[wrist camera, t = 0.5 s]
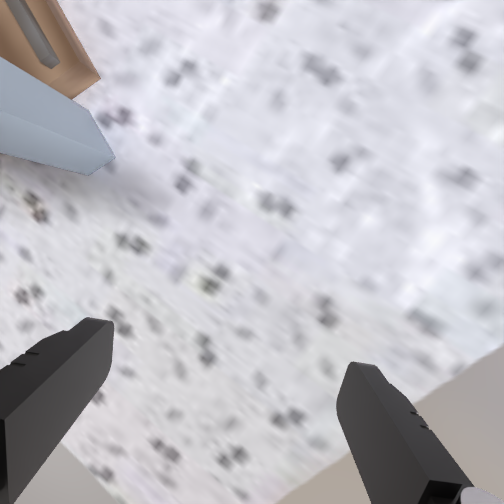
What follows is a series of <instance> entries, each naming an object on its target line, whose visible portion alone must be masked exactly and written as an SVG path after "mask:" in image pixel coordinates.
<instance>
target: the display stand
mask: <svg viewBox="0 0 504 504" xmlns="http://www.w3.org/2000/svg"><path fill="white" fill-rule="evenodd" d="M0 57H2V58H3V59H5V60H7V61H8V62H10V63H12V64H13V65H15V66H16V67H18V68H20V69H21V70H23V71H25V72H26V73H28V74H30V75H31V76H33V77H35V78H36V79H38V80H40V81H41V82H43V83H44V84H46V85H48V86H49V87H51V88H53V89H54V90H56V91H58V92H59V93H61V94H63V95H64V96H66V97H68V98H69V99H71V100H72V99H73V98H74V97H76V96H77V95H79V94H80V93H81V92H83V91H84V90H86V89H87V88H88V87H90V86H91V85H93V84H94V83H95V82H97V81H98V80H100V79H101V78H100V76H99V75H98V73H97V71H96V69H95V68H94V66H93V64H92V62H91V60H90V59H89V57H88V55H87V53H86V52H85V50H84V48H83V46H82V44H81V43H80V41H79V39H78V37H77V36H76V34H75V32H74V30H73V29H72V27H71V25H70V23H69V21H68V20H67V18H66V16H65V14H64V13H63V11H62V9H61V7H60V6H59V4H58V2H57V0H0Z"/></svg>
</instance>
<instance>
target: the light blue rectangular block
mask: <svg viewBox="0 0 504 504" xmlns="http://www.w3.org/2000/svg"><path fill="white" fill-rule="evenodd" d="M0 153H2V154H6V155H10V156H14V157H18V158H22V159H26V160H30V161H34V162H38V163H41V164H45V165H49V166H53V167H57V168H61V169H65V170H69V171H73V172H76V173H80V174H84V175H88V176H89V175H90V174H92V173H93V172H95V171H96V170H98V169H99V168H101V167H102V166H104V165H105V164H107V163H108V162H110V161H111V160H113V159H115V158H116V157H115V155H114V154H113V152H112V150H111V148H110V147H109V145H108V143H107V141H106V140H105V138H104V136H103V134H102V133H101V131H100V129H99V127H98V126H97V124H96V122H95V120H94V119H93V117H92V115H91V113H90V112H89V110H87V109H86V108H84V107H82V106H81V105H79V104H77V103H76V102H74V101H73V100H71V99H69V98H68V97H66V96H64V95H63V94H61V93H59V92H58V91H56V90H54V89H53V88H51V87H49V86H48V85H46V84H44V83H43V82H41V81H40V80H38V79H36V78H35V77H33V76H31V75H30V74H28V73H26V72H25V71H23V70H21V69H20V68H18V67H16V66H15V65H13V64H12V63H10V62H8V61H7V60H5V59H3V58H2V57H0Z"/></svg>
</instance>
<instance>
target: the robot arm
mask: <svg viewBox="0 0 504 504" xmlns="http://www.w3.org/2000/svg"><path fill="white" fill-rule="evenodd" d="M113 337H114V323H113V322H112V321H108V320H102V319H95V318H89V317H87V318H84V319H83V320H82V321H80V322H79V323H78V324H77V325H75V326H74V327H73V328H72V329H70V330H69V331H64V330H63V331H60V332H58V333H56V334H53V335H51V336H49V337H46V338H44V339H42V340H41V341H39V342H38V343H37V344H35V345H34V346H33V347H31V348H30V349H28V350H27V351H26V353H25V354H22V355H20V356H19V357H17V358H16V359H15V360H13V361H12V362H11V364H10V365H6V366H5V367H4V368H2V369H1V370H0V504H14V502H15V501H16V500H17V498H18V497H19V495H20V494H21V493H22V492H23V490H24V489H25V487H26V486H27V485H28V483H29V482H30V481H31V479H32V478H33V477H34V475H35V474H36V473H37V471H38V470H39V469H40V467H41V466H42V465H43V463H44V462H45V461H46V459H47V457H49V455H50V454H51V453H52V451H53V450H54V449H55V447H56V446H57V444H58V443H59V442H60V441H61V439H62V438H63V437H64V435H65V434H66V433H67V431H68V430H69V429H70V427H71V426H72V425H73V423H74V422H75V420H76V419H77V418H78V416H79V415H80V414H81V412H82V411H83V410H84V408H85V407H86V406H87V404H88V403H89V402H90V400H91V399H92V398H93V396H94V395H95V394H96V392H97V391H98V390H99V388H100V387H101V386H102V384H103V383H104V381H105V380H106V378H107V376H108V373H109V371H110V367H111V363H112V351H113ZM336 409H337V416H338V419H339V422H340V425H341V427H342V430H343V432H344V435H345V437H346V440H347V442H348V445H349V447H350V450H351V453H352V455H353V458H354V460H355V463H356V465H357V468H358V470H359V473H360V475H361V478H362V481H363V483H364V486H365V488H366V491H367V493H368V496H369V498H370V501H371V504H504V501H503V500H501V499H500V498H498V497H496V496H495V495H493V494H491V493H489V492H487V491H485V490H483V489H479V488H476V487H474V485H473V484H472V483H471V481H470V480H469V479H468V478H467V476H466V475H465V474H464V472H463V471H462V470H461V468H460V467H459V466H458V464H457V463H456V462H455V460H454V459H453V458H452V456H451V455H450V454H449V453H448V451H447V450H446V449H445V447H444V446H443V445H442V443H441V442H440V441H439V439H438V438H437V437H436V435H435V434H434V433H433V432H432V430H429V428H428V425H427V424H426V422H425V421H424V420H423V418H422V417H421V416H419V415H418V412H417V411H416V409H415V408H414V406H413V405H412V404H411V403H410V401H409V400H408V399H407V397H406V396H404V395H403V394H402V393H401V392H400V391H399V390H398V389H396V388H395V387H394V386H393V385H392V384H389V382H388V381H387V380H386V378H385V377H384V375H383V374H382V373H381V371H380V370H379V369H378V367H377V366H375V365H371V364H365V363H359V362H351V363H350V364H349V365H348V368H347V371H346V373H345V376H344V379H343V382H342V385H341V388H340V391H339V394H338V397H337V403H336Z"/></svg>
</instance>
